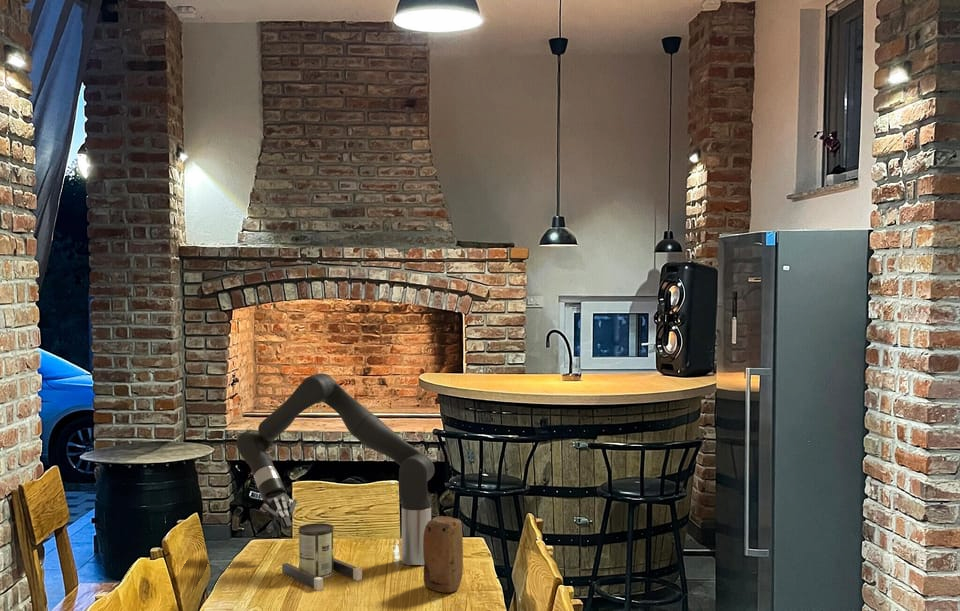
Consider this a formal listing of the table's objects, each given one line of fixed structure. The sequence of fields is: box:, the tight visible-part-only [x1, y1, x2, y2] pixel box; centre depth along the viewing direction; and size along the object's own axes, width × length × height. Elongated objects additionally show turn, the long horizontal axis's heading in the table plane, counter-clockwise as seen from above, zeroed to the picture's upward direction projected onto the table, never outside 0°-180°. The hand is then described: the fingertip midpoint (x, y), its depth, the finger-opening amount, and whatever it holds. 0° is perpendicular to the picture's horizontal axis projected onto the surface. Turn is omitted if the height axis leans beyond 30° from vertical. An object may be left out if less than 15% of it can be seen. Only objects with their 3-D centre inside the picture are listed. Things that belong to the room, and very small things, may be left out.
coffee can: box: [298, 522, 335, 580], centre depth 261 cm, size 10×10×14 cm
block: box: [423, 515, 464, 594], centre depth 248 cm, size 11×8×20 cm
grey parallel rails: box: [281, 557, 363, 592], centre depth 259 cm, size 15×20×3 cm
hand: (288, 528), depth 274 cm, fingers closed
